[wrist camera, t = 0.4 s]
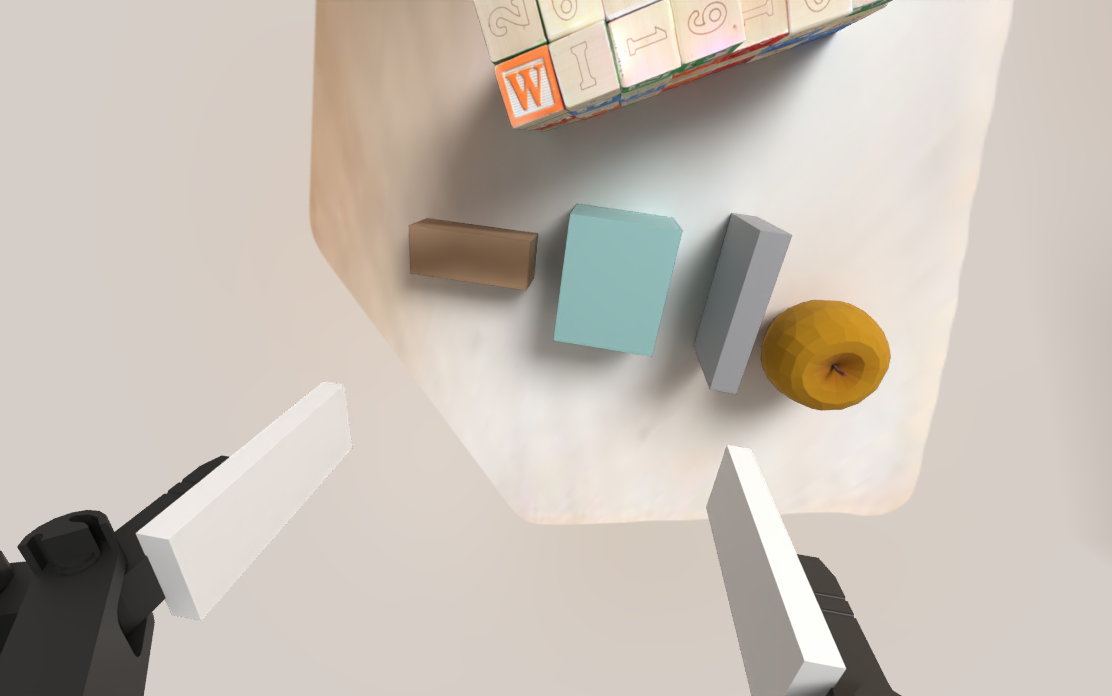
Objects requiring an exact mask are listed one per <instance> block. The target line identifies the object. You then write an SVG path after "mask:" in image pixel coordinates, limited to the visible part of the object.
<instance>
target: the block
mask: <svg viewBox="0 0 1112 696" xmlns="http://www.w3.org/2000/svg"><path fill="white" fill-rule="evenodd" d="M682 231H683V230H682V229H681V228H680V226H679V225H678V224H677V222H676V221H675V220H674V218H672V217H665V216H658V215H651V214H645V213H638V212H631V211H624V210H617V209H610V208H603V207H596V206H590V205H583V204H577V205H576V206H575V208H574V209H573V210H572V212H571V213H570V219H569V226H568V234H567V241H566V249H565V257H564V264H563V272H562V279H561V287H560V294H559V302H558V310H557V317H556V325H555V332H554V341H560V342H566V343H572V344H578V345H584V346H590V347H596V348H603V349H609V350H615V351H621V352H627V353H633V354H639V355H645V356H651V357H652V354H653V350H654V346H655V342H656V338H657V334H658V330H659V325H660V321H661V317H662V313H663V309H664V305H665V301H666V297H667V293H668V289H669V284H670V280H671V276H672V272H673V268H674V264H675V260H676V256H677V252H678V248H679V243H680V239H681V235H682Z"/></svg>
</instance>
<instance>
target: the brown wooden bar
mask: <svg viewBox="0 0 1112 696" xmlns="http://www.w3.org/2000/svg"><path fill="white" fill-rule="evenodd" d="M537 240H538V233H530V232H523V231H516V230H509V229H501V228H494V227H487V226H479V225H472V224H465V223H457V222H450V221H443V220H435V219H428V218H427V219H424V220H422V221H419V222H416V223H414V224H411V225H409V247H410V273H411V274H418V275H425V276H432V277H439V278H446V279H452V280H459V281H466V282H473V283H480V284H487V285H493V286H500V287H507V288H514V289H521V290H527V288H528V287H529V285H530V283H531V282H532V280H533V279H534V273H535V262H536V251H537Z"/></svg>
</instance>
